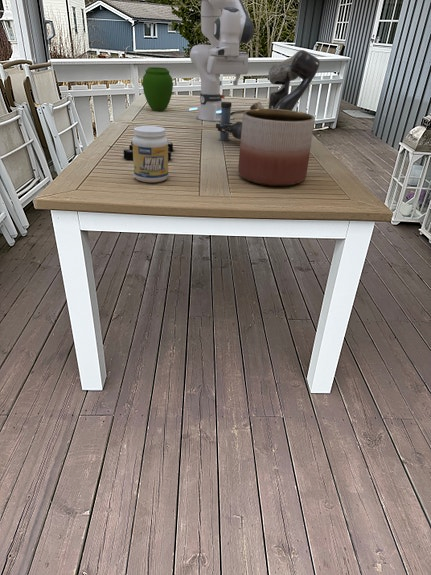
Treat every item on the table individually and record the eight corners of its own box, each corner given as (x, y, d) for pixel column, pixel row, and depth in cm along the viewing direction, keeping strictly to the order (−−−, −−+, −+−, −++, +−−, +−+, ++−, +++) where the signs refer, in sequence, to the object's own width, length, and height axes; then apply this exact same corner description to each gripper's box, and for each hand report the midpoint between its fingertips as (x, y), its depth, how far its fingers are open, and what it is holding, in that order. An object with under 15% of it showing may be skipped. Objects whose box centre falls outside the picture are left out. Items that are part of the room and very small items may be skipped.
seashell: (262, 114, 271) (264, 101, 267) (264, 116, 267) (266, 102, 262) (248, 114, 270) (249, 101, 266) (250, 115, 265) (251, 102, 261)
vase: (143, 107, 275) (142, 66, 262) (173, 108, 277) (172, 67, 264) (142, 112, 259) (140, 68, 246) (173, 113, 261) (173, 70, 248)
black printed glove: (122, 152, 163) (135, 135, 189) (122, 159, 165) (135, 142, 190) (169, 154, 164) (176, 137, 189) (170, 161, 165) (176, 144, 191)
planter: (315, 188, 145) (327, 122, 133) (246, 188, 141) (252, 121, 129) (292, 167, 166) (301, 109, 155) (231, 167, 162) (235, 107, 150)
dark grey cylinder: (219, 139, 205) (221, 102, 196) (228, 139, 206) (230, 102, 197) (220, 141, 201) (222, 104, 192) (229, 141, 202) (231, 104, 193)
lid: (220, 106, 197) (220, 101, 196) (230, 106, 198) (230, 101, 197) (221, 107, 193) (221, 103, 192) (232, 108, 194) (232, 103, 193)
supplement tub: (139, 184, 140) (136, 133, 131) (130, 174, 149) (127, 125, 140) (173, 181, 144) (172, 131, 135) (162, 172, 153) (161, 124, 144)
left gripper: (245, 51, 190) (242, 84, 197) (206, 50, 181) (205, 84, 188) (252, 52, 185) (249, 85, 193) (212, 50, 176) (211, 86, 184)
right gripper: (256, 121, 192) (233, 115, 203) (232, 124, 185) (210, 117, 196) (254, 138, 196) (232, 131, 207) (231, 141, 189) (210, 134, 200)
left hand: (227, 85), depth 190 cm, fingers open, 7 cm apart
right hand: (222, 125), depth 202 cm, fingers open, 6 cm apart
